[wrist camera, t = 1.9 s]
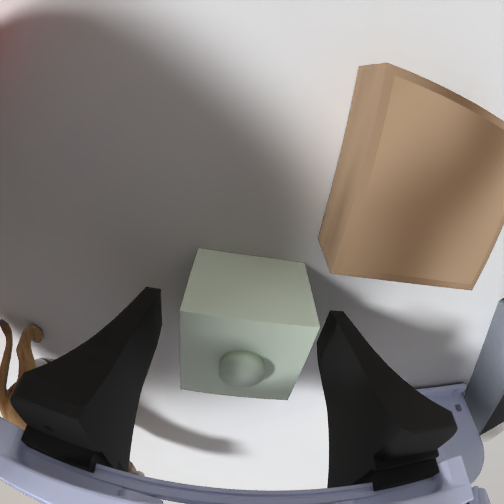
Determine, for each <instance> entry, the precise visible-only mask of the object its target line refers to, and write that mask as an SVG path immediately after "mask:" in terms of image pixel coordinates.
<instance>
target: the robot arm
mask: <svg viewBox="0 0 504 504" xmlns="http://www.w3.org/2000/svg"><path fill="white" fill-rule="evenodd" d="M161 326H162V315H161V289H156V288H150V287H146V288H145V289H144V290H143V291H142V292H141V293H140V294H139V295H138V296H137V297H136V298H135V299H134V300H133V301H132V302H131V303H130V304H129V305H128V306H127V307H126V308H125V309H124V310H123V311H122V312H121V313H120V314H119V315H118V316H117V317H116V318H115V319H113V320H112V321H111V322H110V323H109V324H108V325H106V326H105V327H104V328H103V329H102V330H101V331H99V332H98V333H97V334H96V335H94V336H93V337H92V338H90V339H89V340H87V341H86V342H85V343H83V344H81V345H80V346H78V347H77V348H75V349H74V350H72V351H70V352H69V353H67V354H65V355H63V356H61V357H59V358H58V359H55V360H53V361H51V362H49V363H47V364H45V365H42V366H40V367H37V368H34V369H32V370H29V371H26V372H24V373H23V374H22V376H21V378H20V379H19V381H18V383H17V385H16V387H15V389H14V391H13V393H12V395H11V397H10V402H11V405H12V407H13V408H14V410H15V411H16V412H17V413H18V415H19V416H20V417H21V418H22V419H23V421H24V422H25V423H26V424H27V426H26V428H25V431H24V430H23V429H22V428H20V427H19V426H17V425H15V424H13V423H11V422H9V421H7V420H6V419H4V418H2V417H0V480H1V481H3V482H5V483H6V484H8V485H9V486H11V487H13V488H14V489H16V490H18V491H20V492H22V493H23V494H26V495H27V496H29V497H31V498H33V499H35V500H37V501H39V502H41V503H43V504H163V501H162V500H168V501H174V502H179V503H186V504H490V501H489V498H488V495H487V493H486V490H485V489H484V488H479V487H478V486H474V487H473V488H471V485H470V484H471V483H472V482H474V480H475V479H476V478H477V476H478V475H479V474H480V472H481V469H482V466H483V462H484V449H483V444H482V441H481V438H480V436H479V433H478V430H477V428H476V425H475V423H474V421H473V418H472V416H471V413H470V411H469V409H468V406H467V404H466V402H465V399H464V397H463V395H462V393H463V392H464V391H465V390H466V388H467V386H466V384H465V383H462V384H455V385H448V386H441V387H433V388H424V389H414V388H413V387H412V386H411V385H409V384H408V383H407V382H406V381H404V380H403V379H402V378H401V377H400V376H399V375H398V374H396V373H395V372H394V371H393V370H392V369H391V368H390V367H389V366H388V365H387V364H386V363H385V362H384V361H383V360H382V358H381V357H380V356H379V355H378V354H377V353H376V352H375V351H374V349H373V348H372V347H371V346H370V345H369V344H368V342H367V341H366V340H365V339H364V337H363V336H362V335H361V334H360V332H359V331H358V330H357V328H356V327H355V326H354V325H353V323H352V322H351V321H350V319H349V318H348V317H347V316H346V314H345V313H344V312H343V311H331V310H330V312H329V314H328V317H327V319H326V322H325V324H324V327H323V329H322V331H321V334H320V336H319V338H318V341H317V356H318V365H319V370H320V375H321V380H322V385H323V390H324V395H325V400H326V406H327V412H328V427H329V473H328V487H327V488H324V489H311V490H289V491H258V490H235V489H222V488H212V487H203V486H195V485H188V484H181V483H175V482H169V481H164V480H159V479H154V478H149V477H145V476H140V475H136V474H132V473H128V468H129V458H130V449H131V442H132V435H133V429H134V423H135V417H136V412H137V407H138V402H139V398H140V393H141V390H142V387H143V384H144V381H145V378H146V375H147V372H148V369H149V366H150V364H151V361H152V358H153V355H154V352H155V350H156V347H157V344H158V339H159V335H160V331H161ZM160 499H162V500H160Z"/></svg>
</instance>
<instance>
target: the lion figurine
mask: <svg viewBox="0 0 504 504" xmlns="http://www.w3.org/2000/svg"><path fill="white" fill-rule="evenodd" d="M0 326H1V328H2V331H3V333H4V334H5V336H6V347H5V351H4V355H3V359H2V362H1V366H0V411H1V414H2V416H3V418H4V419H6V420H7V421H9V422H11V423H13V424H15V425H17V426H19V427H20V428H22V429H23V430H24V431H25V428H26V426H27V424H26V423H25V422H24V421H23V419H22V418H21V417H20V416H19V415H18V413H17V412H16V411H15V410H14V408H13V407H12V405H11V402H10V397H11V395H12V393H13V391H14V389H15V387H16V385H17V383H18V381H19V379H20V378H21V376H22V374H23V373H24V372H26V371H29V370H32V369H34V368H37V367H40V366H42V365H45V364H47V362H46V361H45V360H43V359H36V360H34V357H33V354H32V350H31V341H32V340H33V341H35V342H41V341H42V337H43V334H42V331H41V330H40V329H39V328H38V327H36V326H35V325H30V326H28V327H27V328H26V329H25V330H24V331H23V333H22V335H21V338H20V340H19V343H18V346H17V349H16V351H17V356H18V360H19V375H18V380H17V382H16V383H14V384H13V385H12V386H11V387H10V388H9V389H8V390H7V389H6V383H7V376H8V370H9V364H10V359H11V352H12V331H11V328H10V327H9V324H8V323H7V322H5V321H4V320H3V319H1V320H0ZM128 473H132V474H136V475H140V476H144V474H143V473H142V472H140V471H136V469H135V467H134V465H133V464H132V462H130V461H129V468H128Z"/></svg>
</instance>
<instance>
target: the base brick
mask: <svg viewBox="0 0 504 504" xmlns="http://www.w3.org/2000/svg"><path fill="white" fill-rule="evenodd" d="M503 224H504V121H503V120H501V119H499V118H498V117H496V116H495V115H493V114H491V113H490V112H488V111H487V110H485V109H483V108H482V107H480V106H478V105H476V104H475V103H473V102H471V101H469V100H467V99H466V98H464V97H462V96H460V95H458V94H456V93H454V92H452V91H450V90H449V89H447V88H445V87H442V86H440V85H438V84H436V83H434V82H432V81H430V80H428V79H425V78H423V77H421V76H419V75H416V74H414V73H412V72H409V71H407V70H404V69H402V68H399V67H397V66H394V65H392V64H389V63H381V64H373V65H365V66H359V69H358V74H357V79H356V84H355V89H354V94H353V99H352V103H351V108H350V113H349V117H348V122H347V126H346V131H345V135H344V139H343V144H342V148H341V152H340V156H339V160H338V164H337V168H336V172H335V176H334V180H333V184H332V188H331V192H330V196H329V200H328V203H327V207H326V211H325V214H324V218H323V222H322V225H321V229H320V232H319V236H318V240H319V243H320V246H321V248H322V251H323V254H324V256H325V259H326V262H327V265H328V267H329V270H330V273H331V274H339V275H347V276H355V277H363V278H371V279H379V280H387V281H396V282H404V283H412V284H421V285H429V286H438V287H447V288H455V289H464V290H472V289H473V287H474V285H475V284H476V282H477V280H478V278H479V276H480V274H481V272H482V270H483V268H484V266H485V264H486V262H487V260H488V258H489V256H490V254H491V252H492V250H493V247H494V245H495V243H496V241H497V238H498V236H499V234H500V232H501V229H502V227H503Z"/></svg>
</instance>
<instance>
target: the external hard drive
mask: <svg viewBox="0 0 504 504" xmlns="http://www.w3.org/2000/svg"><path fill="white" fill-rule="evenodd" d="M464 399H465V402H466V404H467V406H468V409H469V411H470V413H471V416H472V418H473V421H474V423H475V425H476V428H477V430H478V433H479V436H480V435H481V434H483V433H485V432H487V431H489V430H490V429H492V428H494V427H495V426H497V425H499V424H500V423H502V422H504V298H503V299H501V300H500V301H499V303H498V306H497V308H496V311H495V314H494V316H493V319H492V322H491V325H490V328H489V331H488V334H487V336H486V339H485V342H484V344H483V347H482V350H481V353H480V355H479V358H478V361H477V364H476V366H475V369H474V372H473V374H472V377H471V380H470V383H469V385H468V388H467V391H466V394H465V397H464Z"/></svg>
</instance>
